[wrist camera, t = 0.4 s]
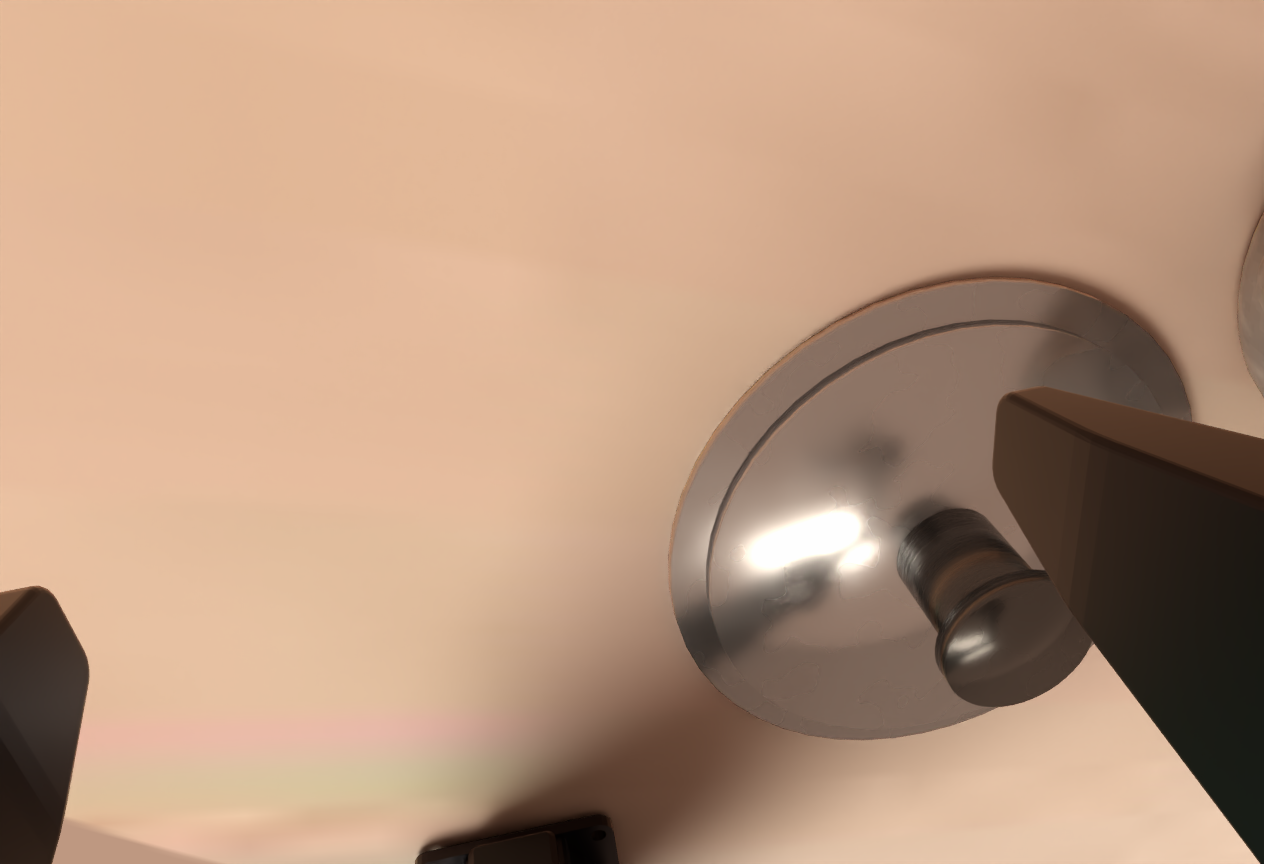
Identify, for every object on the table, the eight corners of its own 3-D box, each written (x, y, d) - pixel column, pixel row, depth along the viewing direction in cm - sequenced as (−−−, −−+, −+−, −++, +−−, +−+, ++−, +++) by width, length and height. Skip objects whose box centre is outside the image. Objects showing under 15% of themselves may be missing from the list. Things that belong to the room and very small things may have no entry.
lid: (1128, 668, 33) (1240, 792, 29) (685, 764, 32) (728, 912, 27) (1226, 228, 25) (1403, 302, 21) (640, 326, 24) (689, 429, 19)
